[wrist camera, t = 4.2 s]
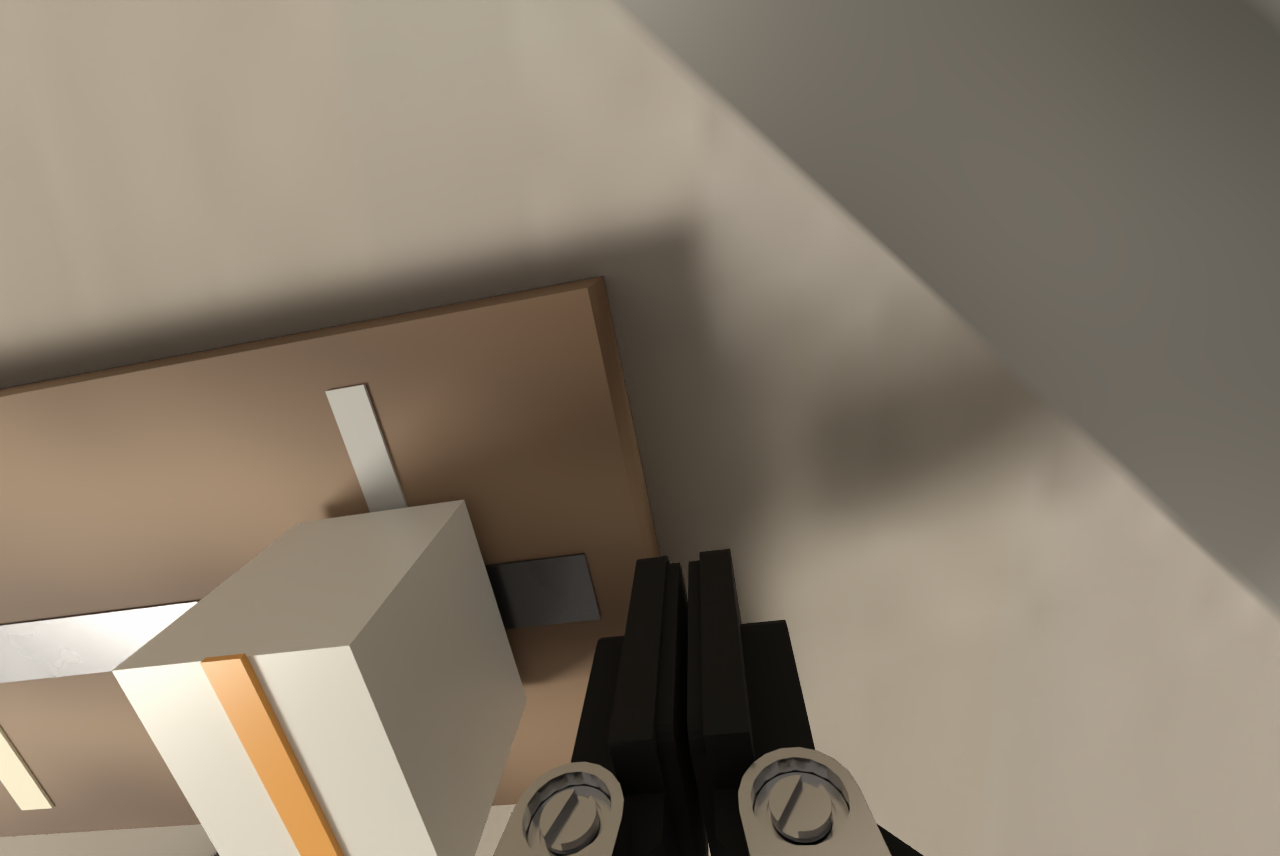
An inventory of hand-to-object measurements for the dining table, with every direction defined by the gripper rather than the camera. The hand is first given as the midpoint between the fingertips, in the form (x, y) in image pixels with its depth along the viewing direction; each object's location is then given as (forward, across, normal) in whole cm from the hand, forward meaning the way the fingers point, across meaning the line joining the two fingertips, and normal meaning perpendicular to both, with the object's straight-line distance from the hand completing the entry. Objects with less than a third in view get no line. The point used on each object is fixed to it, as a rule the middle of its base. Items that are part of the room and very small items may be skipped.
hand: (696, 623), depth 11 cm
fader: (+1, +6, 0) cm, 6 cm away
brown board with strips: (+4, +13, 0) cm, 13 cm away
